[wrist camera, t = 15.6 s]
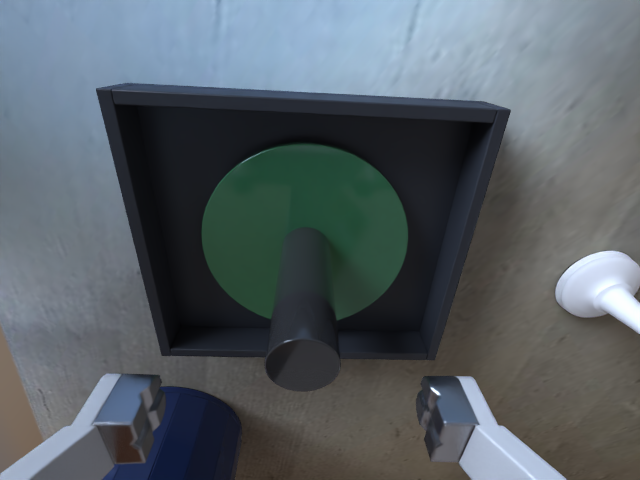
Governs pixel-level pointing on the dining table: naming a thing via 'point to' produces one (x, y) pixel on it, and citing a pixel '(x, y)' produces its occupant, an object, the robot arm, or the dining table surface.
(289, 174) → the lid
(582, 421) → the dining table surface
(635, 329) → the chess piece
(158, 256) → the tray
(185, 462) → the pot
